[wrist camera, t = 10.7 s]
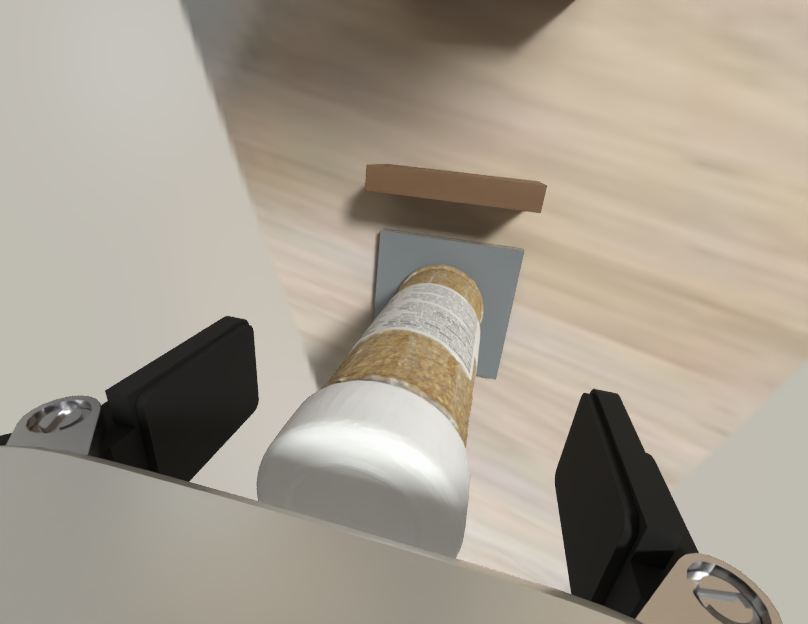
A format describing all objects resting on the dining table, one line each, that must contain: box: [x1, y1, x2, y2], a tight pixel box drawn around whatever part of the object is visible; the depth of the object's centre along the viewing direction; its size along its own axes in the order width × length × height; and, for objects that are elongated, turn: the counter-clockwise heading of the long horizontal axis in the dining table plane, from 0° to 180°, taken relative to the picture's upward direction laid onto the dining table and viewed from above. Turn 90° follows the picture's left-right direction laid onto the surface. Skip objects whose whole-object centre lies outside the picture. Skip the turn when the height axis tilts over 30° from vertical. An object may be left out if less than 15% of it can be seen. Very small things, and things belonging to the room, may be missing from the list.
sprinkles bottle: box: [257, 264, 484, 558], centre depth 14 cm, size 5×5×14 cm
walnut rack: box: [365, 164, 547, 213], centre depth 15 cm, size 9×7×4 cm
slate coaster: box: [373, 229, 524, 379], centre depth 20 cm, size 7×7×1 cm
